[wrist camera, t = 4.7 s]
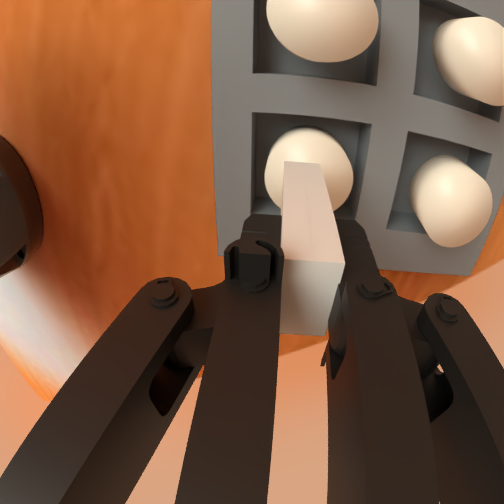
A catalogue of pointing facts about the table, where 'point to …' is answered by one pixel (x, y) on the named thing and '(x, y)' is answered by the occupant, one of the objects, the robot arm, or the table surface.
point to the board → (352, 123)
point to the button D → (471, 57)
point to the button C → (450, 200)
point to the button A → (310, 161)
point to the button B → (323, 27)
